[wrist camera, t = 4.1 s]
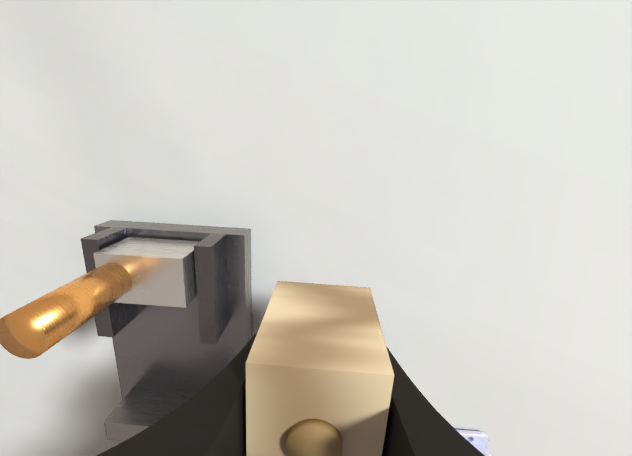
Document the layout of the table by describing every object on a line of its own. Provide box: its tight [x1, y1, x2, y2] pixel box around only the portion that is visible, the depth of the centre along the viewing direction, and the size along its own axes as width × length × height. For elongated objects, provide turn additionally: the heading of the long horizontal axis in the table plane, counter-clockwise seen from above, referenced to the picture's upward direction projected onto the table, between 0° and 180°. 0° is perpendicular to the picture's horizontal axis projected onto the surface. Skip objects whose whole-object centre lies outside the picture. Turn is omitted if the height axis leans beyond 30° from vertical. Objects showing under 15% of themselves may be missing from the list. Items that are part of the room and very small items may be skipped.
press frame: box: [81, 220, 252, 441], centre depth 20 cm, size 10×14×4 cm
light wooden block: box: [246, 281, 394, 456], centre depth 11 cm, size 4×5×5 cm
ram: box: [0, 237, 200, 359], centre depth 15 cm, size 5×3×8 cm, turn 87°
